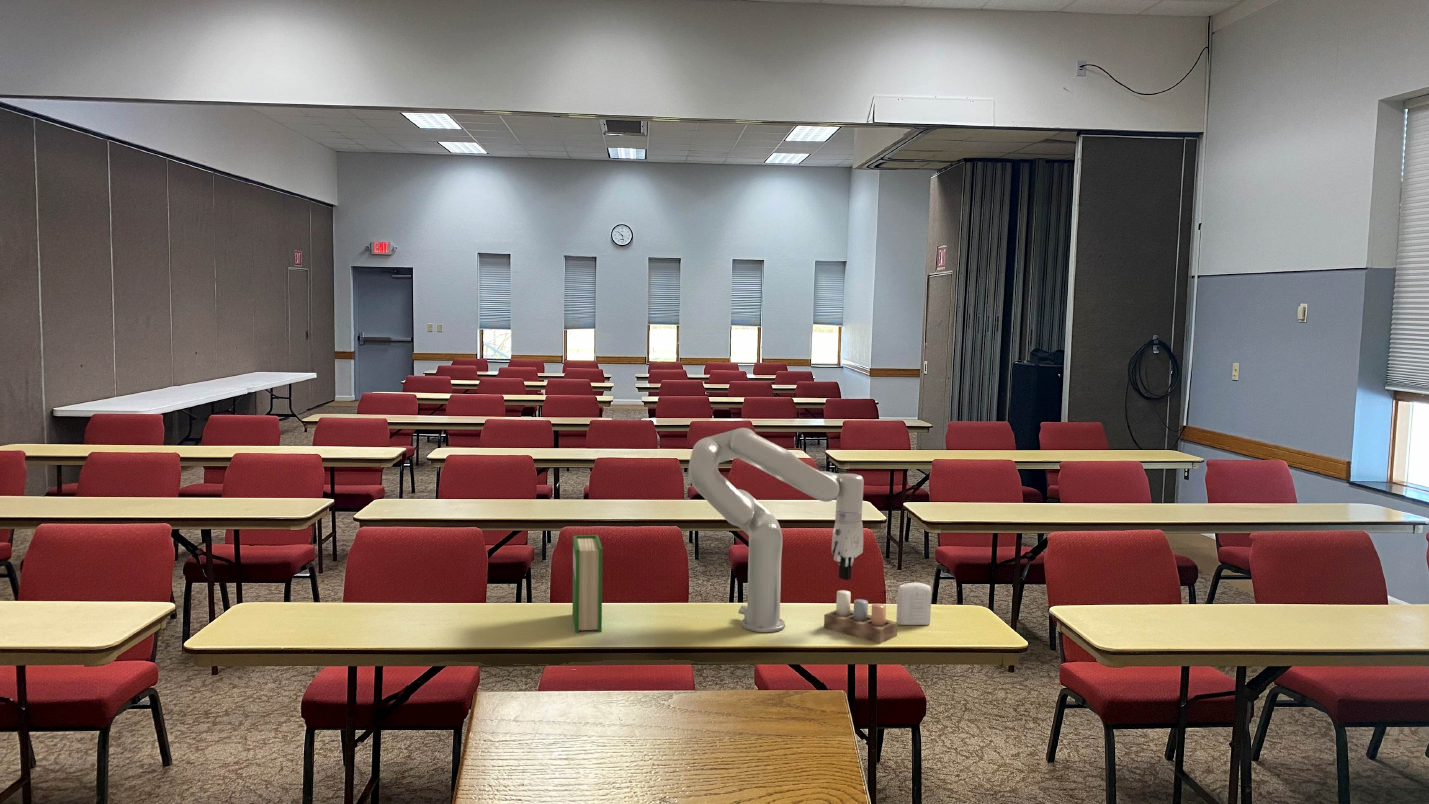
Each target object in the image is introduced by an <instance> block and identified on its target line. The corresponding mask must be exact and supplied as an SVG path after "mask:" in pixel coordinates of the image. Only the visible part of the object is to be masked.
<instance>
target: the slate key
mask: <svg viewBox="0 0 1429 804" xmlns="http://www.w3.org/2000/svg"><path fill="white" fill-rule="evenodd" d="M853 611H854V617H853V620H857V621H860V622H865V621H867V619H868V615H869V601H868V600H866V599H861V598H859V599H858V598H857V599H854V601H853Z"/></svg>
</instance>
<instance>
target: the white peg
mask: <svg viewBox="0 0 1429 804" xmlns="http://www.w3.org/2000/svg"><path fill="white" fill-rule="evenodd" d="M851 597H852V596H851V591H850V590H849V591H848V590H844V589H842V590H841V589H840V590H837V591H836V609H835V610H836V615H838V616H842V617H848V616H850V610H851Z"/></svg>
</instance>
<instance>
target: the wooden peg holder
mask: <svg viewBox="0 0 1429 804" xmlns="http://www.w3.org/2000/svg"><path fill="white" fill-rule="evenodd" d="M871 615H872V614H868V619H867V621H865V622H860V621H857V620H853V617H854V610H851V609H850V616H848V617H842V616H838V615H836V609H835V610H833V611H830V612H827V613H825V614H824V616H823V628H824V629H827V630H830V631H833V632H838V633H842V634H843V635H848V636H852V637H855V636H856V637H855V638H859V639H862V640H865V641H866V640H867V641H870V642H873V643H876V642H877V643H876V644H883V643H885V642H887V641H889V640H891V639H894V638H896V637H898V624H897V622H896V621H893V620H889V619H886V625H885V626H883V627H879V626H875V625H872V624H871Z"/></svg>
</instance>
